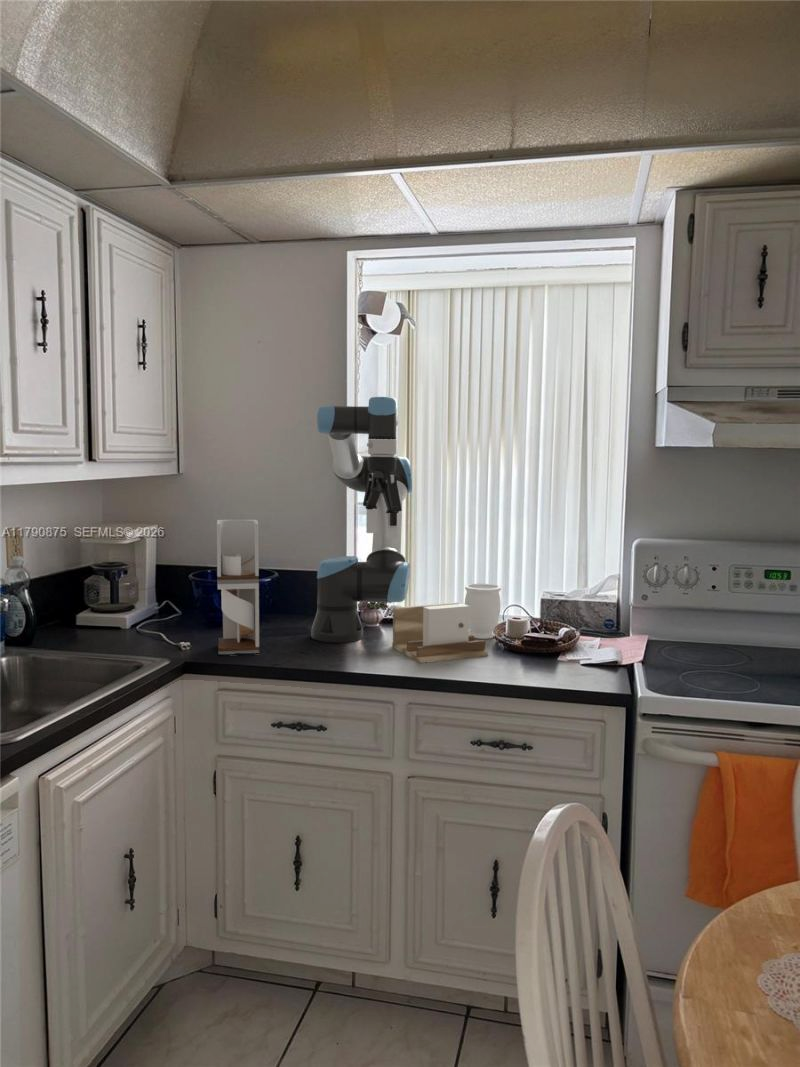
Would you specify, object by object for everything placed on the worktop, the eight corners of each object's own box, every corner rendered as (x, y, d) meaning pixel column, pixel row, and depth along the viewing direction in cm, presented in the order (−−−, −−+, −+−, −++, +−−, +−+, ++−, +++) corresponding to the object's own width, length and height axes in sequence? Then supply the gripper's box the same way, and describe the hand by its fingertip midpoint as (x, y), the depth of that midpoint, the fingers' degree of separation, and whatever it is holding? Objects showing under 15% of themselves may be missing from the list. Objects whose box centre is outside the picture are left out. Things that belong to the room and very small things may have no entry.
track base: (392, 647, 222) (392, 607, 221) (455, 640, 230) (456, 602, 229) (420, 663, 206) (421, 620, 204) (487, 655, 214) (488, 614, 213)
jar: (490, 631, 243) (492, 582, 241) (505, 639, 233) (507, 588, 231) (458, 633, 239) (459, 584, 238) (472, 641, 230) (473, 590, 228)
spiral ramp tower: (218, 645, 221) (217, 519, 218) (257, 643, 223) (257, 519, 220) (218, 655, 210) (216, 523, 206) (259, 654, 212) (258, 523, 209)
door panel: (422, 651, 213) (423, 606, 212) (461, 646, 218) (462, 603, 217) (429, 654, 210) (430, 609, 208) (469, 650, 215) (470, 606, 213)
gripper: (351, 455, 221) (351, 531, 223) (388, 456, 199) (387, 541, 201) (376, 455, 224) (375, 530, 226) (415, 456, 202) (414, 540, 204)
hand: (381, 535), depth 214 cm, fingers open, 13 cm apart
